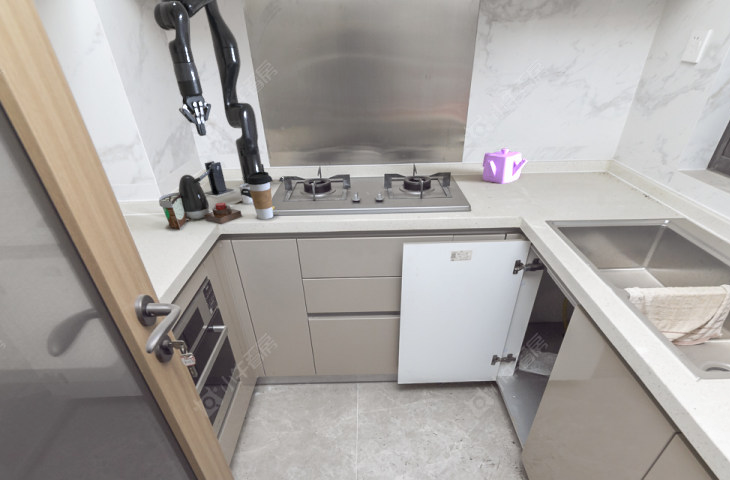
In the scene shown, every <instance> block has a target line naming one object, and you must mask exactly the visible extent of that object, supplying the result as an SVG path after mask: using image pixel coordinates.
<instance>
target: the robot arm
mask: <svg viewBox="0 0 730 480" xmlns="http://www.w3.org/2000/svg"><path fill="white" fill-rule="evenodd" d="M203 8H204V11H205V15H206V19H207V23H208V28H209V32H210V36H211V42H212V47H213V52H214V57H215V62H216V66H217V70H218V76H219V80H220V86H221V92H222V99H223V107H224V114H225V118H226V122H227V123H228V125H229V126H230V127H231V128H233V129H241V136H239V137H237V138H236V139H235V146H236V151H237V157H238V161H239V166H240V171H241V175H242V176H241V178H242V179H241V180H242V181H243V184H247V176H248V175H250V174H252V173H254V172H265V167H264V164H263V163H262V159H261V153H260V148H259V141H258V140H259V131H258V124H257V118H256V113H255V110H254V108H253V106H252V105H251V103H248V102H239V100H238V99H239V98H238V92H237V83H238V79H239V76H240V72H241V71H240V70H241V65H242V64H241V56H240V51H239V45H238V41H237V39H236V37H235V35H234V33H233V31H232V30H231V29H230V27H229V26H228V24H227V23H226V21H225V19H224V18H223V16H222V13H221V11H220V8H219V4H218V1H217V0H159V1H158V2H157V3H156V4H155V5H154V8H153V18H154V20H155V21H154V22H155V23H156V24H157V26H158V27H159V28H160V29H162V30H164V31H167V32H172V31H174V32H175V37H174V39H172V40H169V42H168V43H167V46H168V52H169V55H170V59H171V62H172V65H173V72H174V76H175V80H176V83H177V86H178V90H179V94H180V96H181V97H182V106H181V107H179V108H178V111H179V112H180V114H181V115H182V116H183V117H184V118H185V119H186V120H187V121H188V122H189V124H194V125H195V128H196V129H195V130H196V133H197V134H198V136H200V137H203V136H207V129H206V125H205V123H206V122H207V121H208V120H209V116H210V112H211V109H212V104H211V103H208V102H206V101H205V98H204V96H203V94H204V93H203V87H202V84H201V80H200V75H199V71H198V68H197V66H196V63H195V59H194V55H193V51H192V47H191V21H190V19H193V17H194V16H196V14H197V13H199V12H200V11H201V10H202V9H203ZM266 172H267V171H266ZM267 173H268V175H269V178H270V180H271V181H270V183H272V182H274V180H273V178H272V176H271V175H270V174H269V172H267ZM282 177H283V176H281V177H279V180H278V182H280V183H282V182H283V180H284V179H283V178H282Z"/></svg>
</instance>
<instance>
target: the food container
mask: <svg viewBox="0 0 730 480" xmlns="http://www.w3.org/2000/svg"><path fill="white" fill-rule="evenodd" d="M158 204H159V207H161V208H162V210H163V212H164V215H165V217H166V219H167V223H168V225H169V227H170V229H174V230H181V229H182V228H183V227H184V226H185V225H186V224H187V223H188V222H189V219H188V218H189V217H187V215H186V213H185V211H184V207H183V203H182V198H181V195H180V192H179V191H178V192H171V193H167V194H163V195H162V196H159V199H158Z"/></svg>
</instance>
